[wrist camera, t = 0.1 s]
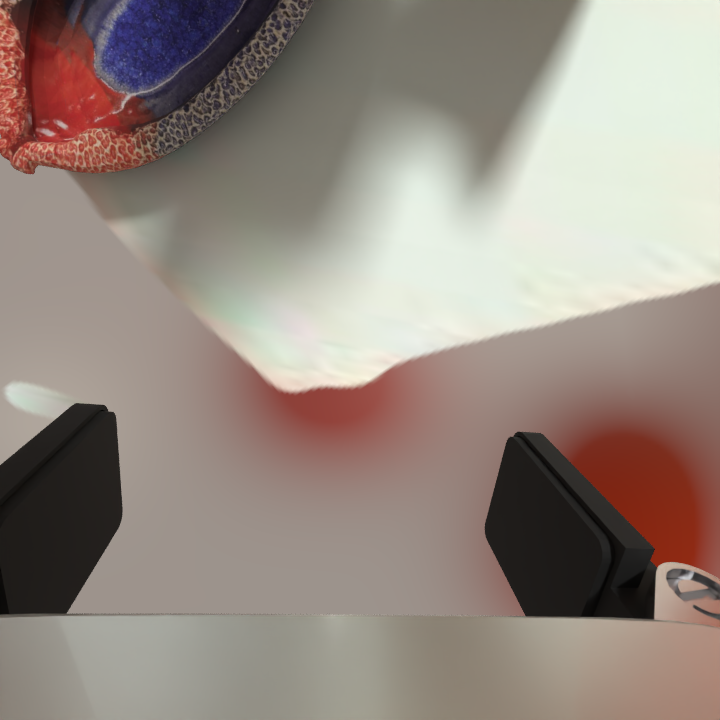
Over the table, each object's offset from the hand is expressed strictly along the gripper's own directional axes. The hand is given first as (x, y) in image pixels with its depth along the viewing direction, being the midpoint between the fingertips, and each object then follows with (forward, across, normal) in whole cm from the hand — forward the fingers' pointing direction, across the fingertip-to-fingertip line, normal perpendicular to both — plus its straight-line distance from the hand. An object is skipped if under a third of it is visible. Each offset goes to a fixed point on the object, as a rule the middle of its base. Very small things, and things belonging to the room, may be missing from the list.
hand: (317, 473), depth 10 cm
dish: (+32, +12, -18) cm, 38 cm away
